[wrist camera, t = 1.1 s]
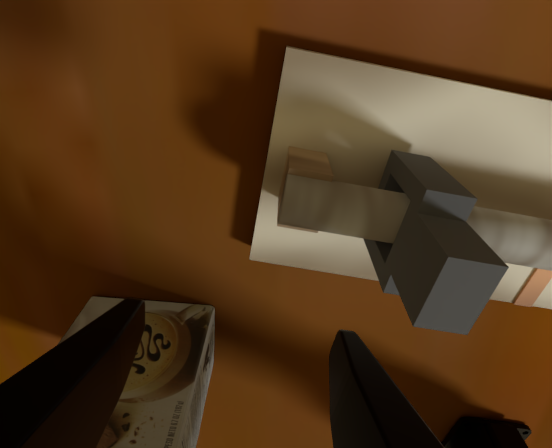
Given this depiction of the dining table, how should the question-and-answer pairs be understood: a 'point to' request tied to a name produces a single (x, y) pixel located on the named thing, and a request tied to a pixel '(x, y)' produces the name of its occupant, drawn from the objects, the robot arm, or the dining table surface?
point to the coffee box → (161, 375)
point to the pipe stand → (373, 158)
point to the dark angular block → (435, 248)
